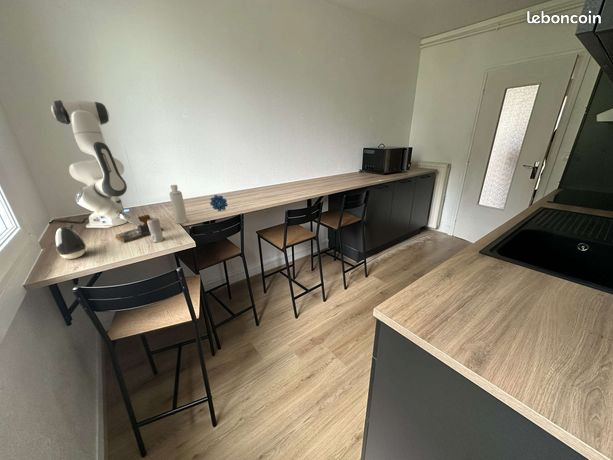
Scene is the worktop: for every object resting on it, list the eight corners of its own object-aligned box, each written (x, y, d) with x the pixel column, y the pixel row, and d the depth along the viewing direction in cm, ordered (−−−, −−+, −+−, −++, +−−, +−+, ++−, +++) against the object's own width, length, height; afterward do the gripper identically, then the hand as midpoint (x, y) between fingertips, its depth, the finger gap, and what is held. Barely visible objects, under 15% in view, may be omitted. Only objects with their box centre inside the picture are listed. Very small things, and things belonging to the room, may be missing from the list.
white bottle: (175, 223, 156) (165, 184, 146) (177, 220, 162) (168, 181, 152) (186, 223, 157) (177, 183, 147) (188, 219, 163) (180, 181, 153)
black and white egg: (94, 250, 125) (82, 222, 119) (77, 261, 115) (64, 231, 109) (73, 251, 125) (61, 222, 119) (55, 262, 115) (40, 231, 109)
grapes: (213, 214, 171) (210, 197, 167) (210, 211, 177) (207, 195, 172) (230, 211, 177) (227, 194, 172) (227, 208, 182) (224, 192, 177)
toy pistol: (124, 242, 133) (123, 240, 132) (116, 237, 139) (115, 234, 139) (163, 230, 147) (162, 228, 146) (153, 226, 154) (153, 223, 153)
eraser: (141, 232, 141) (137, 218, 138) (138, 230, 144) (134, 217, 141) (156, 227, 147) (152, 214, 144) (153, 226, 150) (149, 213, 146)
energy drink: (161, 237, 138) (155, 216, 133) (165, 239, 135) (160, 219, 130) (151, 240, 134) (144, 219, 130) (155, 243, 131) (149, 222, 127)
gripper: (124, 209, 125) (150, 221, 136) (110, 202, 137) (135, 214, 148) (117, 220, 124) (144, 231, 135) (103, 212, 135) (129, 223, 146)
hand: (139, 222), depth 141 cm, fingers open, 8 cm apart
